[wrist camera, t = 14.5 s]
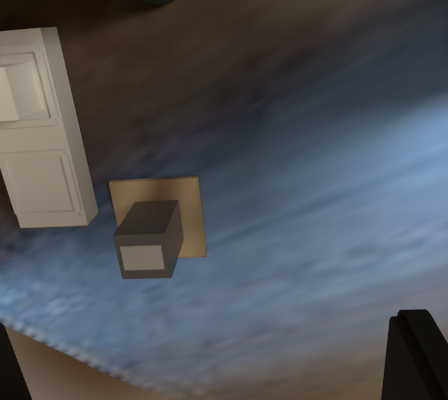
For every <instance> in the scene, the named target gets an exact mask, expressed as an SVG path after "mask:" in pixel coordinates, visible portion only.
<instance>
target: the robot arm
mask: <svg viewBox="0 0 448 400" xmlns="http://www.w3.org/2000/svg"><path fill="white" fill-rule="evenodd" d="M0 400H32V398H31V395H30V393H29V390H28V388H27V385H26V382H25V379H24V377H23V374H22V372H21V369H20V366H19V364H18V361H17V358H16V356H15V353H14V351H13V348H12V345H11V342H10V340H9V337H8V335H7V332H6V329H5V327H4V325H3V324H2V323H0ZM381 400H448V343H447V342H446V340H445V338H444V336H443V335H442V333H441V331H440V330H439V328H438V326H437V324H436V323H435V321H434V319H433V318H432V316H431V314H430V313H429V312H428V310H426V309H417V310H399V312H398V315H397V316H394V317H391V318H390V321H389V331H388V340H387V350H386V359H385V369H384V378H383V388H382V397H381Z"/></svg>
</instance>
